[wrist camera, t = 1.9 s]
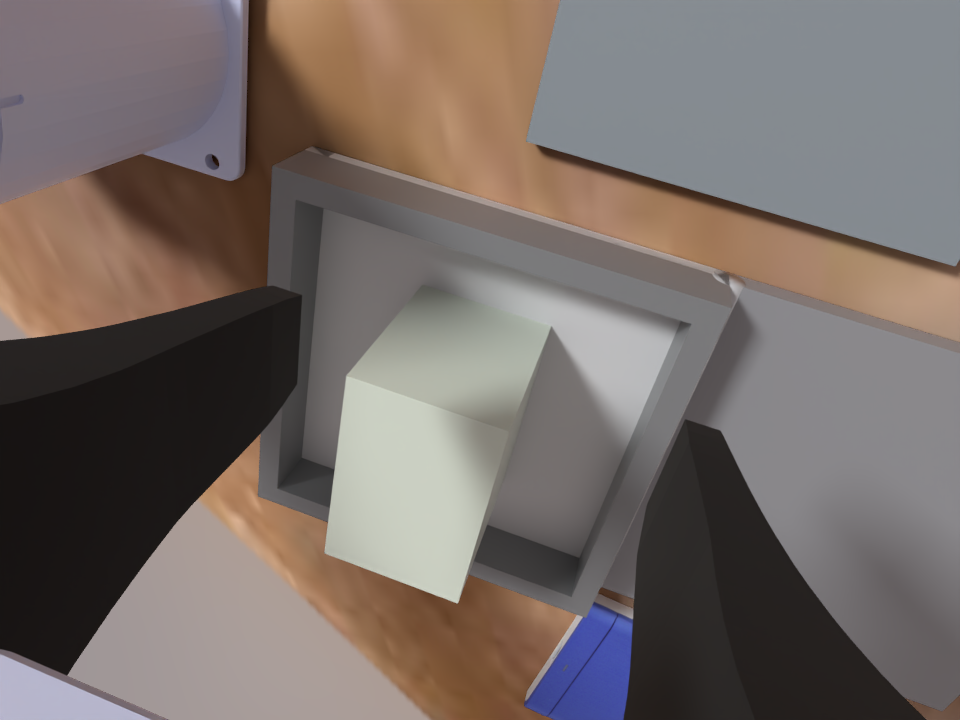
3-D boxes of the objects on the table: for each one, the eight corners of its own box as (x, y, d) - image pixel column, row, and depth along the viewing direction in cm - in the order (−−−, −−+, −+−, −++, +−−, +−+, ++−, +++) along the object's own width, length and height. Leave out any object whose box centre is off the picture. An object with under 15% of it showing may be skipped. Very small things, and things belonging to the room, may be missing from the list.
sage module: (394, 442, 27) (324, 553, 22) (422, 284, 23) (346, 375, 18) (503, 480, 26) (457, 603, 21) (551, 326, 23) (509, 431, 18)
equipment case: (288, 458, 30) (257, 496, 28) (312, 146, 22) (271, 166, 20) (936, 692, 26) (956, 755, 24) (1212, 419, 19) (1276, 476, 17)
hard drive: (881, 742, 27) (589, 609, 28) (770, 827, 32) (521, 710, 32) (873, 706, 28) (594, 580, 29) (768, 793, 33) (529, 681, 34)
